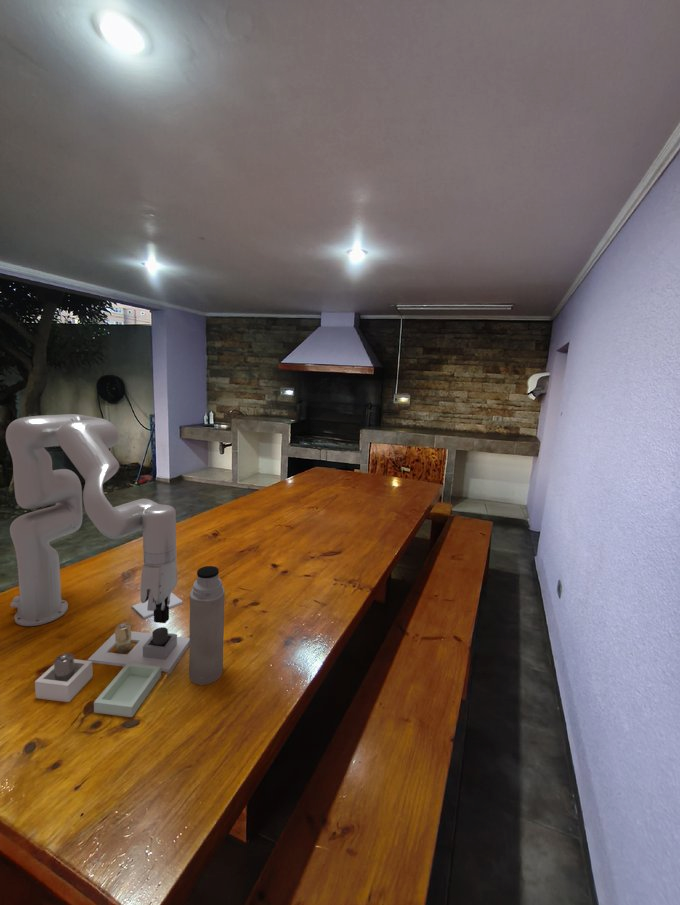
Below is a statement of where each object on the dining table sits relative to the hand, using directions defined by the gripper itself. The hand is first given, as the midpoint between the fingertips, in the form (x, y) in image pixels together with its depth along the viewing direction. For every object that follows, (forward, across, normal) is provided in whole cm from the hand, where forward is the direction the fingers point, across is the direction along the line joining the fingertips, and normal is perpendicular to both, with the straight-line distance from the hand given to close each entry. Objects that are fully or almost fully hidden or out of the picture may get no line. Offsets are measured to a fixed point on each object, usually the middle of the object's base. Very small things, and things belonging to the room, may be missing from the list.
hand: (161, 620), depth 101 cm
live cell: (+10, 0, -11) cm, 15 cm away
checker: (+10, 0, -6) cm, 12 cm away
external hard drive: (+11, -21, -13) cm, 27 cm away
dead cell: (+9, +14, -16) cm, 23 cm away
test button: (+7, 0, -1) cm, 7 cm away
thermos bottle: (+11, +4, +13) cm, 18 cm away
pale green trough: (+10, +13, -1) cm, 17 cm away
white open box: (+10, +14, -16) cm, 23 cm away
